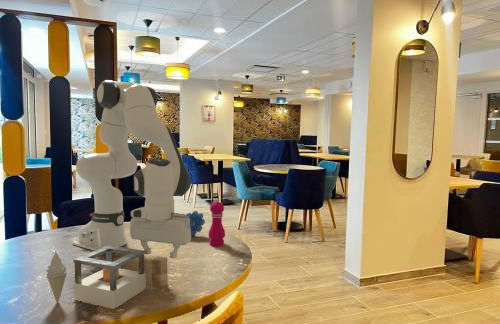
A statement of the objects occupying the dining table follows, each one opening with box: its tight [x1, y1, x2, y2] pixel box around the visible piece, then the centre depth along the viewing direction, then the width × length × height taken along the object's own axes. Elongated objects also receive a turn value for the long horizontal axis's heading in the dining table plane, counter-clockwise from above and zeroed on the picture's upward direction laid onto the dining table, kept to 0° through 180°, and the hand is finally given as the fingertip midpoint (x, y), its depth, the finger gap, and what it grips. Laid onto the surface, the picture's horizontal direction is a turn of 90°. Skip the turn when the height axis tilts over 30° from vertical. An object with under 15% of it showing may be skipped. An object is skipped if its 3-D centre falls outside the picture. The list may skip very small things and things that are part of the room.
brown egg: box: [102, 267, 120, 282], centre depth 108 cm, size 4×4×5 cm
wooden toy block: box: [150, 255, 168, 291], centre depth 114 cm, size 4×4×9 cm
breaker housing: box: [73, 267, 146, 310], centre depth 108 cm, size 14×14×5 cm
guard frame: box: [72, 245, 146, 291], centre depth 107 cm, size 14×14×7 cm
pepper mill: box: [208, 198, 226, 247], centre depth 157 cm, size 7×7×20 cm
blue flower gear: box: [185, 210, 206, 237], centre depth 169 cm, size 12×7×12 cm, turn 112°
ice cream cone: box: [45, 250, 68, 303], centre depth 102 cm, size 5×5×15 cm
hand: (160, 255), depth 113 cm, fingers open, 8 cm apart
